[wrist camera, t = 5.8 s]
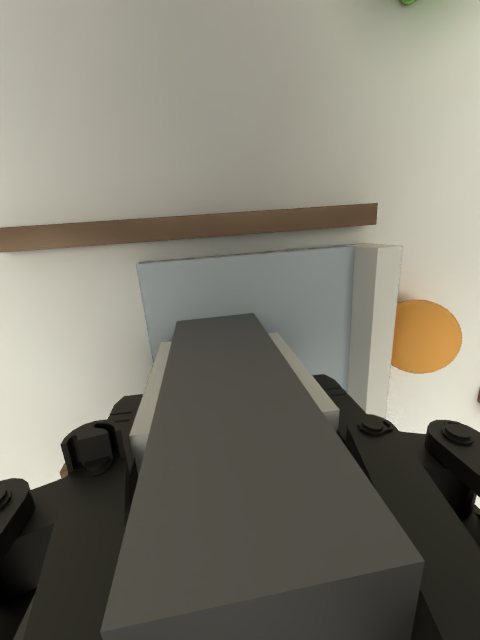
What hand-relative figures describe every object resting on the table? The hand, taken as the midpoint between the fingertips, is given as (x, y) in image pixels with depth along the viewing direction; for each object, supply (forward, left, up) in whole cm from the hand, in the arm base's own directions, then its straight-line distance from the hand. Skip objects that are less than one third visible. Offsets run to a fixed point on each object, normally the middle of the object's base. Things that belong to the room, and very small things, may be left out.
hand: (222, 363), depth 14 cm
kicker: (0, +2, -2) cm, 3 cm away
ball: (0, +11, -2) cm, 11 cm away
